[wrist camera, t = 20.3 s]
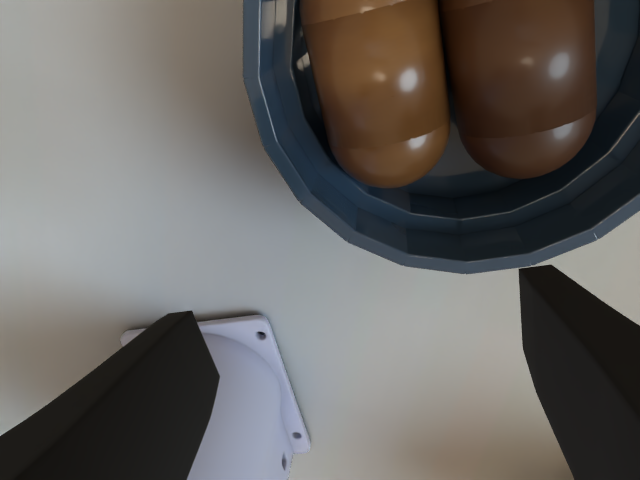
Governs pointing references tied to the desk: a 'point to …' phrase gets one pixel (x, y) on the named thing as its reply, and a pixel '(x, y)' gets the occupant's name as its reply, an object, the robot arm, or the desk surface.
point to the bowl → (451, 161)
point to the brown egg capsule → (380, 85)
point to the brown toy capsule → (521, 81)
